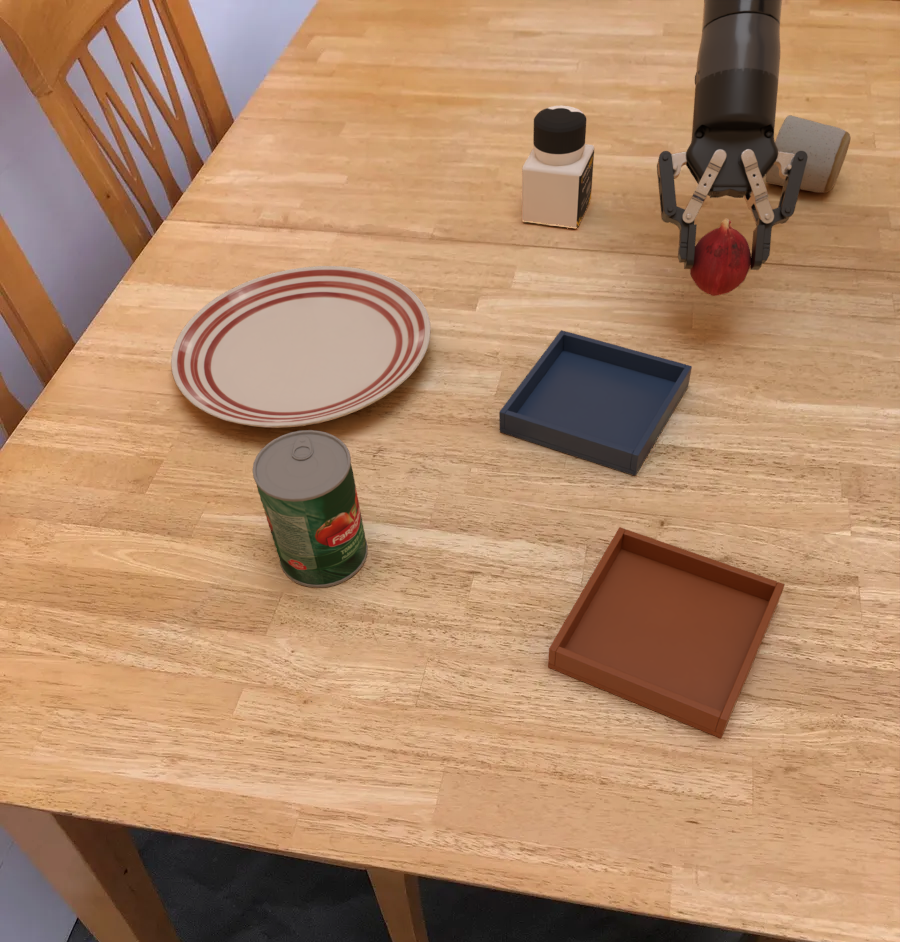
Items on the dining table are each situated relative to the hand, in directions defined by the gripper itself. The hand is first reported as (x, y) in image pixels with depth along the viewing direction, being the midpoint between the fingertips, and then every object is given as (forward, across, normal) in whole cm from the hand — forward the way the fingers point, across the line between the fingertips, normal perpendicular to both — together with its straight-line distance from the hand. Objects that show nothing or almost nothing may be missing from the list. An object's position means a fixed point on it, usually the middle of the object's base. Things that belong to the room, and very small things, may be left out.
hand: (722, 267), depth 89 cm
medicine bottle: (-12, -17, +26) cm, 33 cm away
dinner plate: (+10, -42, +4) cm, 44 cm away
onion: (+2, 0, +4) cm, 5 cm away
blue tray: (+14, -11, 0) cm, 18 cm away
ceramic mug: (-18, +13, +32) cm, 39 cm away
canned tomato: (+29, -35, -15) cm, 47 cm away
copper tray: (+33, -5, -20) cm, 39 cm away
